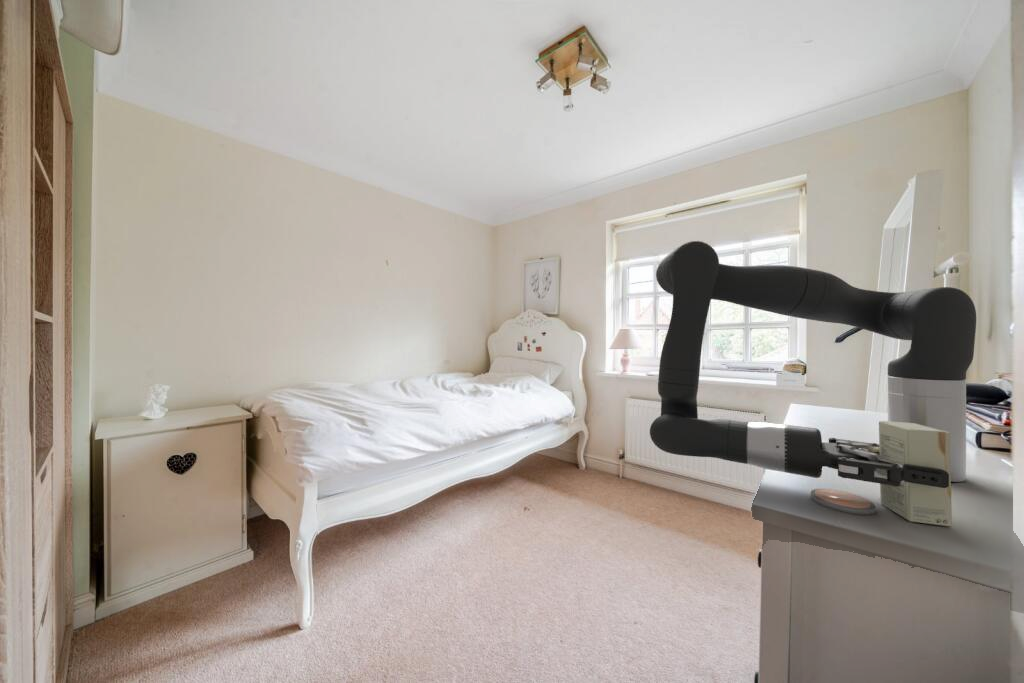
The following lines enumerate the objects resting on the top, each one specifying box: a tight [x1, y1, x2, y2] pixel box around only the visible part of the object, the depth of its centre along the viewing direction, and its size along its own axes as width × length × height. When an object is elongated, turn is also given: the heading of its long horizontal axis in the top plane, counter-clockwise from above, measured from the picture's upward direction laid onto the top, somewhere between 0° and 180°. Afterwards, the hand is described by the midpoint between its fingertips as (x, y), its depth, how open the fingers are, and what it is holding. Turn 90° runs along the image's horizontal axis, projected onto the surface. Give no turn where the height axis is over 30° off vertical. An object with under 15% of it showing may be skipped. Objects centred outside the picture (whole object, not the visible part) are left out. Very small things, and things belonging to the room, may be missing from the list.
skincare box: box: [878, 420, 953, 527], centre depth 49 cm, size 6×4×12 cm
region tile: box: [809, 488, 877, 516], centre depth 52 cm, size 7×7×1 cm
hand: (937, 470), depth 47 cm, fingers closed on skincare box, 7 cm apart
